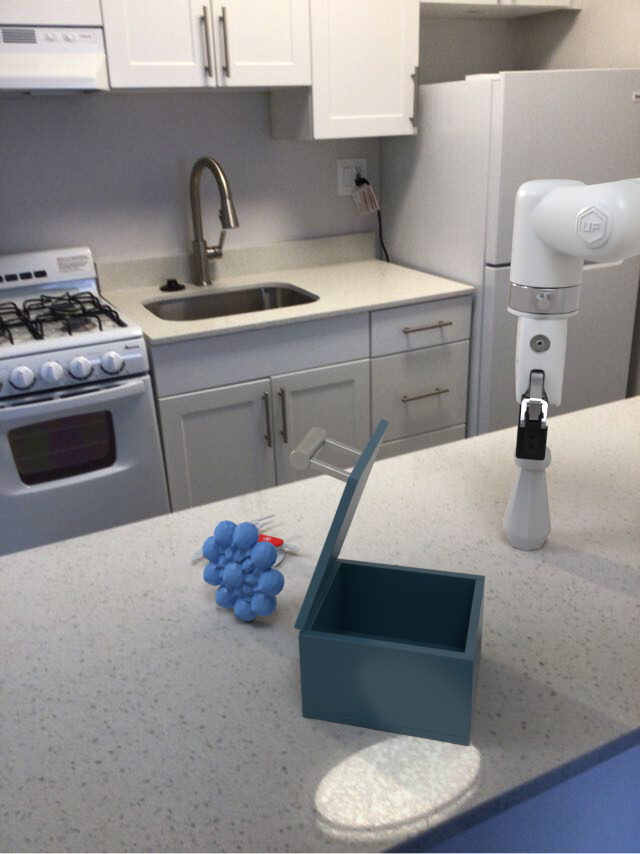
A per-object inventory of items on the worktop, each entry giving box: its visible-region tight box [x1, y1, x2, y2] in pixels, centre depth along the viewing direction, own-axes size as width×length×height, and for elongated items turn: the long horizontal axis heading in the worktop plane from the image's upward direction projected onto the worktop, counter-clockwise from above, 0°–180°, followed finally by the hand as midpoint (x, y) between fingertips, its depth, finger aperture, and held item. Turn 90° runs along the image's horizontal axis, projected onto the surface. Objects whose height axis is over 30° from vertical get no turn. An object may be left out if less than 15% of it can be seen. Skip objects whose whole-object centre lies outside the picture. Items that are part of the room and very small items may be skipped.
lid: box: [288, 418, 390, 632], centre depth 66 cm, size 15×13×6 cm
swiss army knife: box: [191, 513, 301, 568], centre depth 94 cm, size 12×14×2 cm
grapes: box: [201, 519, 285, 622], centre depth 79 cm, size 12×7×12 cm, turn 49°
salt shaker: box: [502, 445, 552, 552], centre depth 91 cm, size 6×6×13 cm
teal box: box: [297, 557, 486, 747], centre depth 69 cm, size 15×13×9 cm
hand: (530, 441), depth 89 cm, fingers open, 9 cm apart
